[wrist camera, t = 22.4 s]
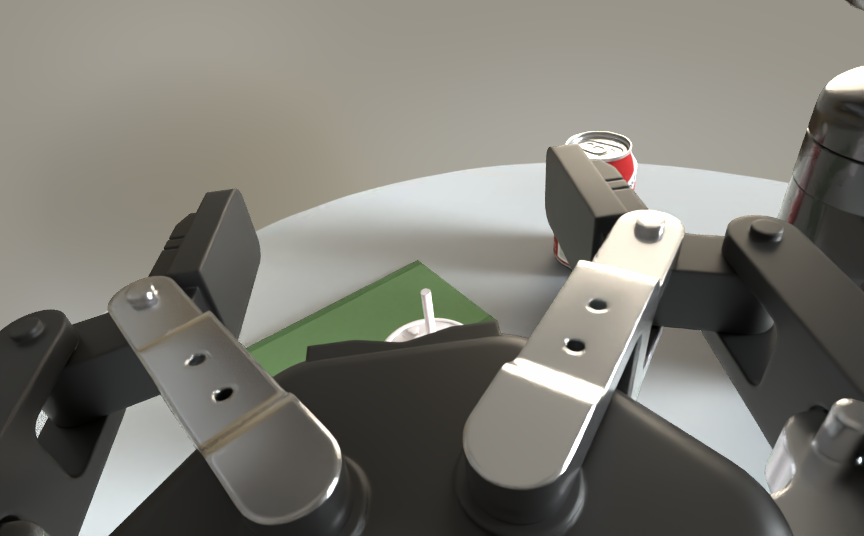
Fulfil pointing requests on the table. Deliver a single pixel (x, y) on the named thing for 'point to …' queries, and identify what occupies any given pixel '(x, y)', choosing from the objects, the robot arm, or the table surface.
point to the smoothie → (422, 323)
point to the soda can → (610, 151)
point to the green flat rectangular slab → (367, 316)
